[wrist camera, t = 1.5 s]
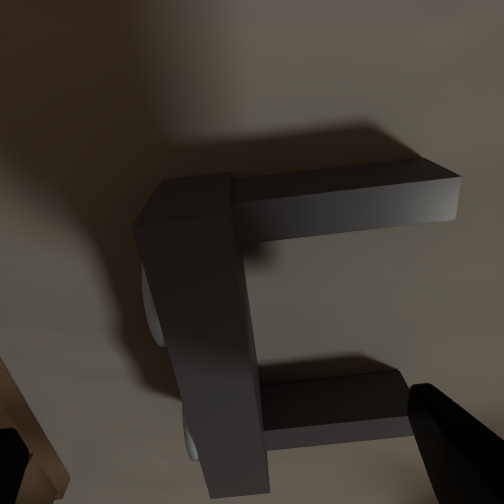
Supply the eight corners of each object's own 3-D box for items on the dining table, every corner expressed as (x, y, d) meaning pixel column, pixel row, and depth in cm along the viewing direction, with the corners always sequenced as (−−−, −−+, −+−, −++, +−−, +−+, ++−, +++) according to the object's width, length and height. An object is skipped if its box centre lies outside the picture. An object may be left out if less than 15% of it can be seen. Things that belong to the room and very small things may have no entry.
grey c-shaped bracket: (397, 394, 13) (436, 476, 11) (209, 414, 13) (202, 500, 11) (424, 149, 9) (500, 184, 7) (152, 181, 9) (118, 228, 7)
